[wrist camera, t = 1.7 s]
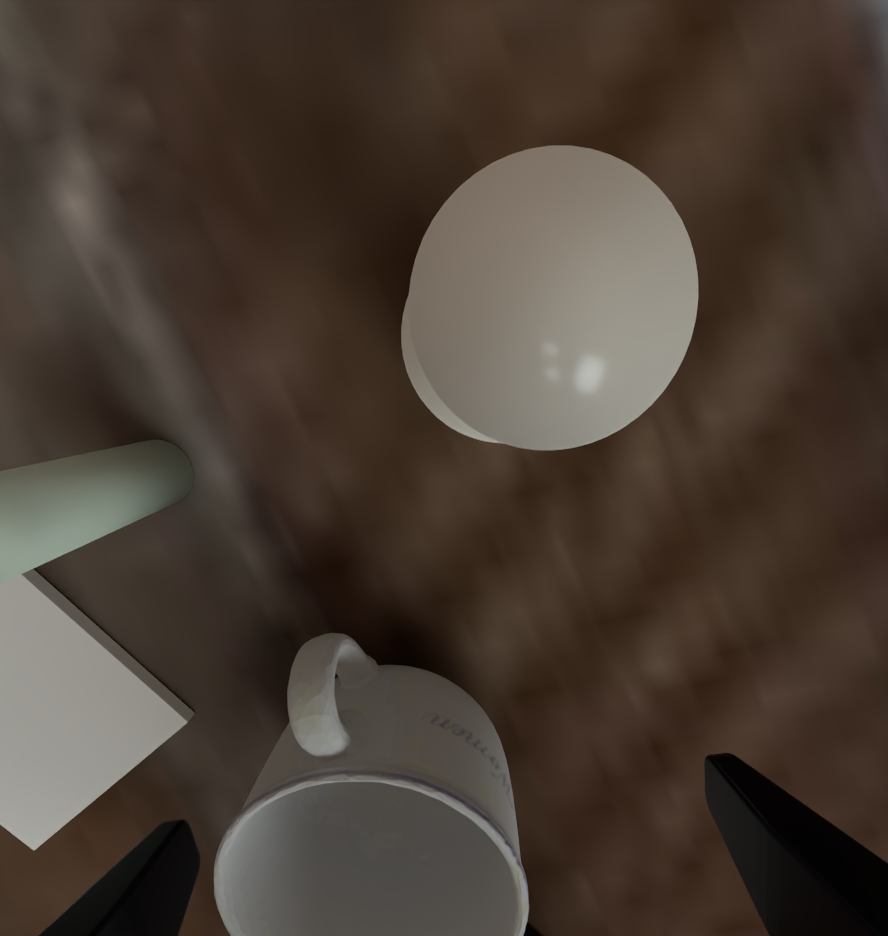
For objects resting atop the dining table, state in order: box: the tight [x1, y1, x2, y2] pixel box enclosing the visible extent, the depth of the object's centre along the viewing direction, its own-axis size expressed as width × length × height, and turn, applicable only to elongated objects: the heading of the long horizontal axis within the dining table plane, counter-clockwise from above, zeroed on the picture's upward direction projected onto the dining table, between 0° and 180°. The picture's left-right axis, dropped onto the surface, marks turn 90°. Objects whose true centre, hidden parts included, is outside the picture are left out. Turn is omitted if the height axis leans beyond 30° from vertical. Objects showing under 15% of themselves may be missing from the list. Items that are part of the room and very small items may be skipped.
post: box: [0, 440, 193, 583], centre depth 16 cm, size 3×3×8 cm
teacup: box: [214, 633, 529, 936], centre depth 18 cm, size 14×11×8 cm
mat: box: [0, 569, 195, 850], centre depth 22 cm, size 12×12×1 cm
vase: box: [401, 146, 698, 450], centre depth 12 cm, size 5×5×14 cm
